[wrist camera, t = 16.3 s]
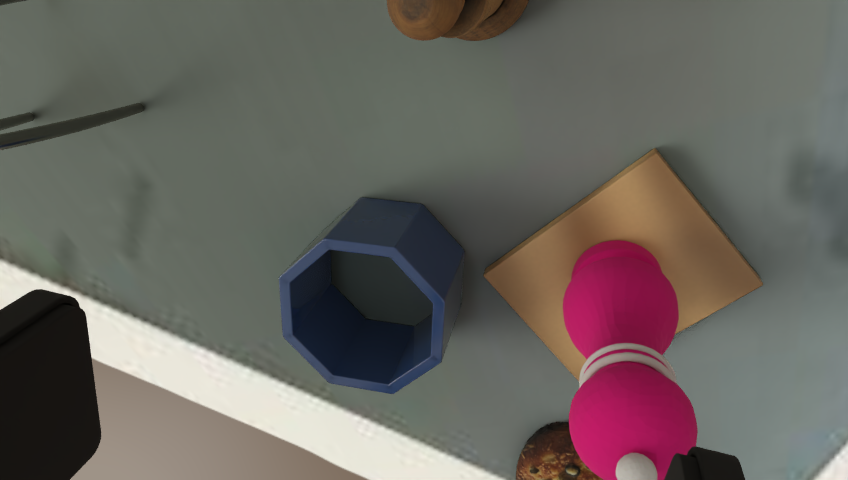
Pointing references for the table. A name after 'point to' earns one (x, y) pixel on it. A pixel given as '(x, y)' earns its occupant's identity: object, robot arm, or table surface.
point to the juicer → (60, 127)
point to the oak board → (634, 222)
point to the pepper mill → (625, 365)
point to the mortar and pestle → (454, 17)
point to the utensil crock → (345, 326)
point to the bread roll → (552, 457)
